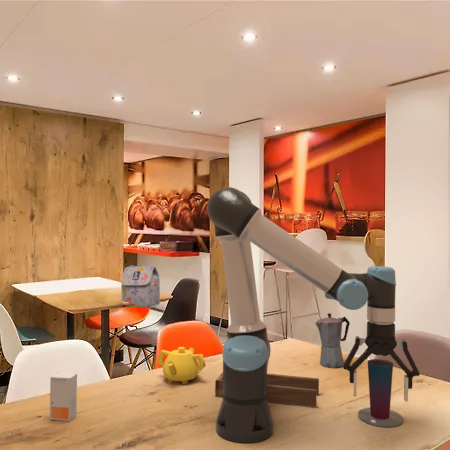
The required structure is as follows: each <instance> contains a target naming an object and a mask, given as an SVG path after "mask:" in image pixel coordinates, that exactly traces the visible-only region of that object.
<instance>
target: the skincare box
mask: <svg viewBox="0 0 450 450" xmlns="http://www.w3.org/2000/svg"><path fill="white" fill-rule="evenodd" d="M49 385H50V390H49V391H50V392H49V394H50V395H49V420H53V421H64V422H71V421H72V420H73V419H74V418H75V417H76V416H77V403H78V402H77V401H78V400H77V396H78V395H77V394H78V389H77V387H78V373H76V372H75V373H73V372H58V371H57V372H56V373H55V374H52V375H51V376H50V382H49Z"/></svg>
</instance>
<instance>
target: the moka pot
mask: <svg viewBox="0 0 450 450" xmlns="http://www.w3.org/2000/svg"><path fill="white" fill-rule="evenodd" d="M344 322H345V323H346V324H345V331H344V335H343V338H342V333H343V331H342V330H343V328H342V327H343V323H344ZM314 325H315V326H316V328H317V330H318V332H319V337H320V342H321V347H320V358H319V359H320V361H319V363H320V366H322V367H324V368H330V369H332V368H333V369H334V368H336V369H337V368H341V367H343V364H344V362H345V361H344V358H343V351H342V347H341V342H345V341H346V340H347V336H348V331H349V327H350V325H351V323H350V321H349V319H348V318H347V317H346V316H342V317H338V318H335V317H332V313H330V312H329V313H327V317H325V318H320V319H317V321H316V322H315V323H314Z"/></svg>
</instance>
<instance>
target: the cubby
mask: <svg viewBox="0 0 450 450" xmlns="http://www.w3.org/2000/svg"><path fill="white" fill-rule="evenodd" d="M214 382H215V384H214V385H215V391H214V392H215V393H214V394H215V397H217V398H223V371H222V372H221V374H220V375H219V376H218V377H216V379H215V381H214ZM319 387H320V379H319V378H317V377H307V376H298V375H285V374H275V373H267V403H270V404H271V403H272V404H281V405H290V406H298V407H306V408H307V407H308V408H317V396H319V394H320V392H319V391H320V388H319Z"/></svg>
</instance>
